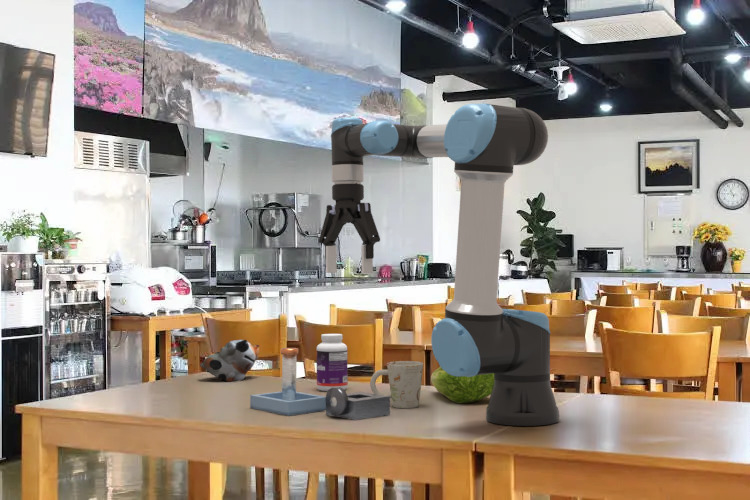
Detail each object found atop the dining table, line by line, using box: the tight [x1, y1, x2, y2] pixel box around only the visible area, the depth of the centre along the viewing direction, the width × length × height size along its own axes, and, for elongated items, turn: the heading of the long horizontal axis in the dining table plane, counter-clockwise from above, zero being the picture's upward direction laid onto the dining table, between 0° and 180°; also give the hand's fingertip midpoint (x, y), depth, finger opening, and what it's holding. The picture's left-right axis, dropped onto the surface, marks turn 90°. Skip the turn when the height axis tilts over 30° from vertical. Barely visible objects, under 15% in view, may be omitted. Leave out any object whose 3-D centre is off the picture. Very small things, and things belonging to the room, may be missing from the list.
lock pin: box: [280, 347, 299, 401], centre depth 226 cm, size 4×4×13 cm
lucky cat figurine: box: [199, 339, 260, 383], centre depth 282 cm, size 15×12×14 cm
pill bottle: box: [316, 333, 349, 392], centre depth 257 cm, size 8×8×14 cm
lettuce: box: [430, 366, 494, 404], centre depth 240 cm, size 12×24×13 cm
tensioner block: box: [325, 387, 391, 421], centre depth 217 cm, size 10×12×6 cm
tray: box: [249, 390, 326, 417], centre depth 226 cm, size 15×11×3 cm
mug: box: [369, 360, 424, 409], centre depth 229 cm, size 8×13×10 cm, turn 78°
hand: (348, 273), depth 235 cm, fingers open, 13 cm apart
